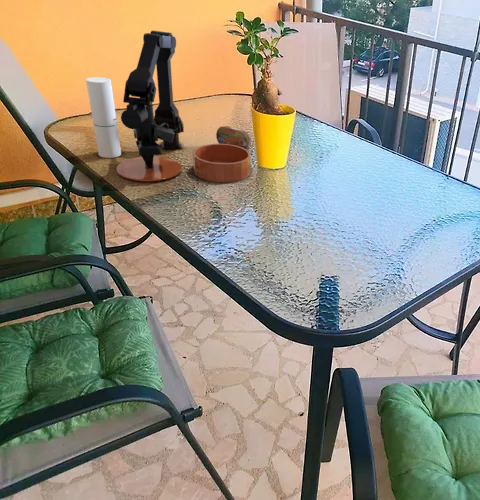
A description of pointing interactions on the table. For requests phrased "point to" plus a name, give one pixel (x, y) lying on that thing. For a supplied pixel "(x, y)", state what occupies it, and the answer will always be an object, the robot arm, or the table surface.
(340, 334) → the table surface
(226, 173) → the pot
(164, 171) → the lid
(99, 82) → the cylindrical container
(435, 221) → the table surface
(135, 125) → the robot arm
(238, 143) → the tin
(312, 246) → the table surface
